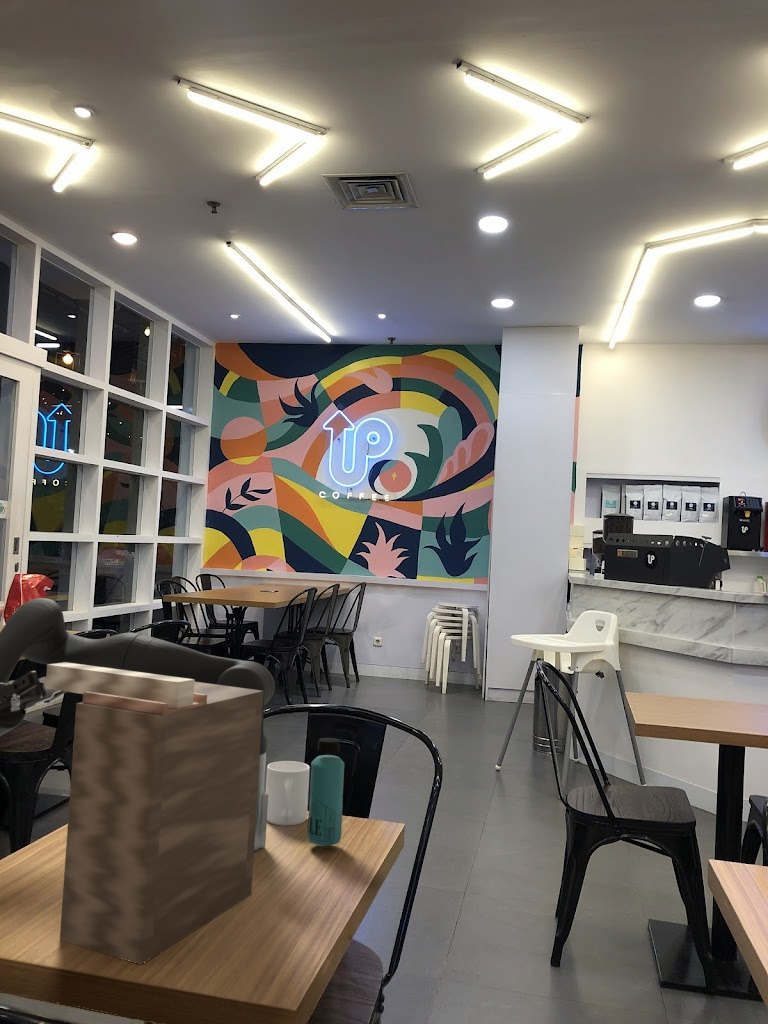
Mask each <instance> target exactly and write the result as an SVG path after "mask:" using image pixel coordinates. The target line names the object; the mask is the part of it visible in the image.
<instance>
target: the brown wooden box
mask: <svg viewBox="0 0 768 1024" xmlns="http://www.w3.org/2000/svg"><path fill="white" fill-rule="evenodd" d="M262 707H263V691H261V690H254V689H246V688H239V687H231V686H224V685H216V684H209V683H201V682H194V698H193V705H189V706H185V707H181V708H172V707H168V703H163V702H157V701H150V700H143V699H136V698H130V697H123V696H116V695H110V694H103V693H96V692H89V691H86V692H83V694H82V701H81V702H76V704H75V718H74V733H73V743H72V745H73V747H72V762H71V774H70V789H69V790H70V791H69V804H68V817H67V818H68V819H67V830H66V831H67V832H66V834H67V835H66V844H65V845H66V847H65V859H64V875H63V886H62V887H63V889H62V903H61V918H60V929H59V931H60V933H59V941H62V942H66V943H69V944H71V945H75V944H76V945H75V946H78V945H79V947H81V946H82V947H81V948H84V947H87V948H89V950H91V949H92V950H91V951H94V950H96V951H95V952H97V951H99V952H98V953H100V952H101V953H100V954H103V953H104V955H107V954H109V955H108V956H110V955H111V957H113V956H116V957H119V958H123V959H126V960H130V961H133V962H136V963H140V964H142V963H144V962H146V961H147V960H149V959H150V960H152V959H153V958H152V957H154V956H155V957H157V956H158V955H159V953H160V952H161V953H163V952H164V951H166V950H168V949H169V948H170V946H171V947H172V946H174V945H175V944H177V943H178V942H180V941H181V940H184V939H185V938H187V937H188V936H189V935H191V934H193V933H194V932H196V931H197V930H199V929H200V928H202V927H203V926H205V925H206V924H208V923H210V922H212V921H213V920H215V919H216V918H218V917H219V916H221V915H222V914H224V913H226V912H227V911H229V910H230V909H232V908H233V907H236V906H237V905H238V904H239V903H241V902H243V901H245V900H246V899H248V898H249V897H251V896H252V894H253V892H252V891H253V890H252V889H253V875H254V858H255V857H254V856H255V851H254V843H255V826H256V809H257V792H258V775H259V758H260V741H261V724H262ZM87 948H86V949H87ZM167 948H168V949H167ZM165 949H166V950H165ZM162 951H163V952H162ZM161 953H160V954H161ZM157 954H158V955H157ZM156 955H157V956H156ZM116 957H115V958H116ZM155 957H154V958H155ZM119 958H118V959H119ZM151 958H152V959H151ZM123 959H122V960H123ZM126 960H125V961H126ZM150 960H149V961H150ZM147 962H148V961H147ZM147 962H146V963H147ZM144 964H145V963H144Z"/></svg>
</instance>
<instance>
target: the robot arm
mask: <svg viewBox="0 0 768 1024" xmlns="http://www.w3.org/2000/svg"><path fill="white" fill-rule="evenodd" d="M22 657H23V658H24V659H27V660H28V661H31V662H34V663H38V664H42V665H48V664H55V663H63V662H67V663H74V664H82V665H90V666H97V667H105V668H112V669H120V670H127V671H135V672H142V673H150V674H157V675H165V676H173V677H180V678H188V679H195V682H201V683H209V684H216V685H224V686H231V687H239V688H246V689H254V690H261V691H263V707H262V724H261V741H260V758H259V775H258V792H257V809H256V826H255V843H254V852H257V851H258V850H260V849H261V848H265V847H266V838H267V825H268V824H267V823H268V821H267V807H268V794H267V793H266V791H265V782H266V781H265V779H266V761H267V748H268V747H267V745H268V739H267V736H266V735H265V731H264V720H265V719H264V718H265V717H264V715H265V706H266V705H267V704H268V703H269V701H270V700H271V699H272V698H273V695H274V693H275V690H276V684H275V679H274V677H273V675H272V673H271V672H270V670H268V669H267V668H266V667H265V666H264V665H263V664H262V663H261V664H260V663H258V662H256V661H252V660H251V661H250V660H242V659H234V658H228V657H222V656H217V655H211V654H209V653H208V654H207V653H204V652H201V651H199V650H195V649H192V648H189V647H187V646H183V645H180V644H177V643H173V642H170V641H167V640H164V639H161V638H156V637H154V636H149V635H145V634H143V633H137V632H124V633H118V634H115V635H111V636H108V637H107V636H106V637H103V638H98V639H97V638H96V639H94V638H87V637H83V636H79V635H75V634H72V633H70V632H68V631H67V629H66V623H65V617H64V613H63V611H62V608H61V605H59V603H58V602H57V601H55V600H53V599H50V598H45V597H39V598H38V597H37V598H34V599H33V598H32V599H31V600H28V601H27V600H26V602H24V603H22V604H21V605H20V606H18V608H16V610H15V611H14V612H13V614H11V616H10V617H9V619H8V620H7V622H6V623H5V624H4V626H3V627H2V629H1V630H0V737H1V736H3V735H5V734H6V733H8V732H10V731H12V730H14V729H16V728H17V727H18V726H20V725H21V724H22V723H23V721H24V719H25V716H26V713H27V711H28V710H30V709H33V708H35V707H36V706H37V705H38V704H41V703H44V704H49V703H50V702H52V701H53V700H55V699H57V698H59V697H61V696H62V695H65V694H66V693H67V692H66V691H60V690H53V689H46V676H42V677H40V678H39V677H38V676H39V675H38V674H37V671H36V670H32V671H31V670H30V671H28V672H26V673H25V674H24V675H21V676H20V677H17V679H14V680H12V679H11V680H9V679H10V678H11V675H12V674H13V671H14V670H15V668H16V665H17V664H18V662H19V661H20V659H21V658H22ZM40 684H42V686H41V687H40Z"/></svg>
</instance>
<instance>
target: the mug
mask: <svg viewBox="0 0 768 1024" xmlns="http://www.w3.org/2000/svg"><path fill="white" fill-rule="evenodd" d="M310 768H311V767H310V765H308V764H307V763H304V762H302V761H301V762H300V761H296V760H295V761H292V760H281V761H274V762H270V763H269V764H267V767H266V781H265V782H266V783H265V793H267V794H268V807H267V823H270V824H271V825H275V826H276V825H277V826H284V827H286V826H295V825H296V826H297V825H300V824H303V823H304V822H305V821H306V819H307V817H308V807H309V789H310V771H311V769H310Z"/></svg>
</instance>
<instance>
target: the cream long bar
mask: <svg viewBox="0 0 768 1024" xmlns="http://www.w3.org/2000/svg"><path fill="white" fill-rule="evenodd" d="M45 677H46V689H53V690H60V691H66V693H73V694H79V695H80V694H81V695H83V692H86V691H89V692H96V693H103V694H110V695H116V696H123V697H130V698H136V699H143V700H150V701H157V702H163V703H168V707H172V708H181V707H185V706H189V705H193V698H194V682H195V679H188V678H180V677H173V676H165V675H157V674H150V673H142V672H135V671H127V670H120V669H112V668H105V667H97V666H90V665H82V664H74V663H67V662H63V663H55V664H46V676H45Z"/></svg>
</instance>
